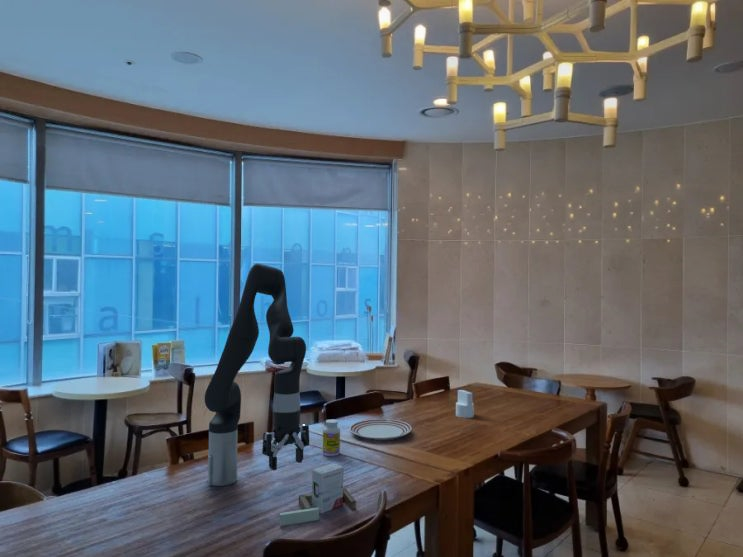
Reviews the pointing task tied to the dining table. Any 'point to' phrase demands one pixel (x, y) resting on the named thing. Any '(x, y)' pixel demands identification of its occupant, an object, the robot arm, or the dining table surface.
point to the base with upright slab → (464, 404)
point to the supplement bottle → (331, 438)
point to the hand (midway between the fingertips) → (286, 465)
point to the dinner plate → (380, 429)
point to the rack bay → (307, 500)
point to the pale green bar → (299, 516)
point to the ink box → (327, 487)
